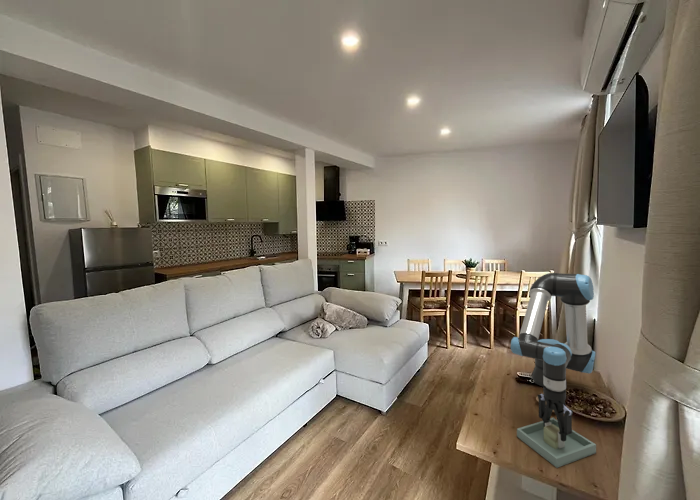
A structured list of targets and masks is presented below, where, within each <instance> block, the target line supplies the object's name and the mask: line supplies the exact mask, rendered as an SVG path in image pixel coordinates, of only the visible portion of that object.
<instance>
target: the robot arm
mask: <svg viewBox="0 0 700 500" xmlns="http://www.w3.org/2000/svg"><path fill="white" fill-rule="evenodd" d="M528 296H530V297H529V300H528V303H527V307H526V311H525V313H524V314H525V315H524V317H523V321H522V325H521V328H520V332H519V336H513V337H512V338H511V341H510V351H511V353H513V354H514V355H518V356H521V357H526V358H531V359H534V368H533V370H532V373H531V380H532V379H533V380H534V381H535V383H534V384H536V385H539V386H541V387H543V392H542V393H543V394H542V393H540V394H537V396H538V399H539V402H538V418H539V419H541V421H543V427H545V426H549V425H551V422H549V421H551V420H550V418H552V413H554V415H555V416H556V420H557V421H558V426H559V430H560V431H559V432H558V448H559V449H560V448H563V447H565V441H566V435H569V434H572V430H573V425H572V423H573V422H572V421H573V420H572V419H573V418H572V417H573V413H574V410H573V409H570V408H568V407H567V405H566V399H567V390H566V389H567V370H571V371H575V372H579V373H584V374H592V372H593V369H594V363H595V360H596V353H597V352H596V351H594V350H593V349H592V347H591V345H590V344H589V343H588V322H587V321H588V320H587V305H589V303H590V302H591V301H592V300H593V299H594V296H595V293H594V284H593V281H592V278H591V276H589V275H587V274H580V273H576V274H575V273H561V272H560V273H558V272H549V273H545V274H543V275H542V276H541V275H540V277H538V278H537V279H536V280H535V281H534V282H533V283H532V285H531V286H530V289H529V291H528ZM552 297H557V298H560V302H561V303H563V304H564V317H565V330H566V332H565V334H566V342H564V343H563V342H560V341H559V340H557V339H552V338H541V339H540V335H541V334H540V333H541V330H542V326H543V322H544V317H545V314H546V309H547V306H548V301H550V300H551V299H552ZM552 410H554V412H552Z"/></svg>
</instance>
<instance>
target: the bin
mask: <svg viewBox="0 0 700 500" xmlns="http://www.w3.org/2000/svg"><path fill="white" fill-rule="evenodd" d="M550 420H551V421H549V422H551V425H552V424H554V425H555V426H557V427H558V428H559V426H558V421H557V418H555V417H550ZM516 438H518V439H519V440H520V441H521V442H523V443H524V444H526V445H527V446H528V447H529V448H531V449H532V450H533V451H535V452H536V453H537V454H538V455H540V456H541V457H543V458H544V459H545V460H546V461H547V462H548V463H550V464H551V465H552V466H554V467H555V468H556V469H558V468H560V467H562V466H566V465H568V464H570V463H573V462H576V461H579V460H581V459H584V458H587V457H589V456H592V455H595V454H597V444H596V443H595V442H593V441H591V440H590V439H588V438H586V437H585V436H583V435H581V434H580V433H578V432H577V431H575V430H574V429H572V434H569V435H566V441H565V447H563V448H560V449H559V448H557V449H554V448H553V447H551V446H550V445H549V444H547V443H546V442H544V427H543V420H540V421H538V422H535V423H531V424H528V425H525V426H521V427H518V428H516Z"/></svg>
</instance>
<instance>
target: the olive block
mask: <svg viewBox="0 0 700 500" xmlns="http://www.w3.org/2000/svg"><path fill="white" fill-rule="evenodd" d="M559 431H560V430H559V428H558V427H557V426H555V425H554V424H552V425H549V426H545V427H544V442H546V443H547V444H549V445H550V446H551V447H553V448H554V449H557V448H558V432H559Z"/></svg>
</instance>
